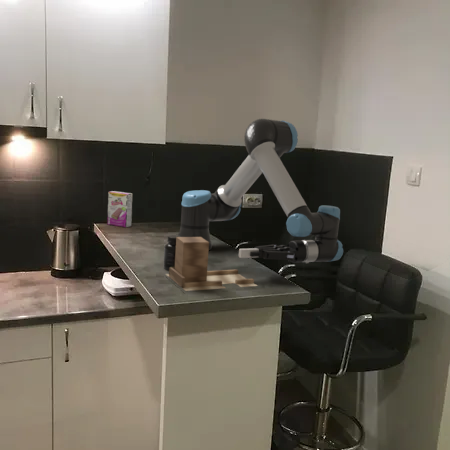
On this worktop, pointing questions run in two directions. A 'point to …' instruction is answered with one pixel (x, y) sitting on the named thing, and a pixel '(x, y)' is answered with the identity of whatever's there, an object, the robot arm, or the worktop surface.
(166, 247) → the supplement bottle
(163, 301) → the worktop surface
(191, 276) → the walnut block
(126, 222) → the candy bar box
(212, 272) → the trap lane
